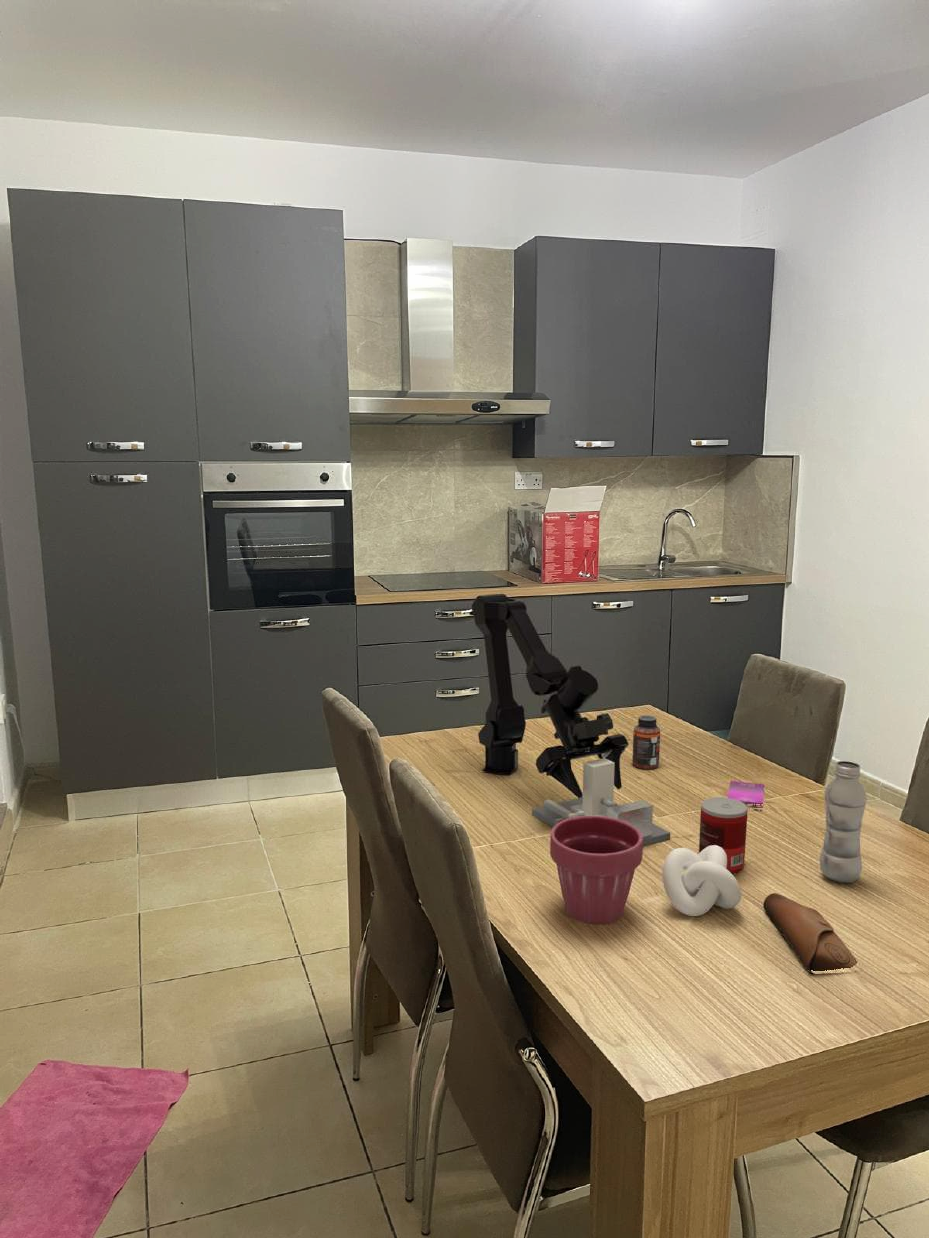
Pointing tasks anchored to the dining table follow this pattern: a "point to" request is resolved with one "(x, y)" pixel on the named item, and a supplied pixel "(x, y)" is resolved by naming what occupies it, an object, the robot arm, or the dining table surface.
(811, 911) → the sunglasses case
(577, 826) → the plant pot
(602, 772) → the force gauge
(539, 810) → the track
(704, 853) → the white knot sculpture
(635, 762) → the supplement bottle
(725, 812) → the canned food
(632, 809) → the grey block with recess
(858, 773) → the plastic bottle
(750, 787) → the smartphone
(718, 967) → the dining table surface
